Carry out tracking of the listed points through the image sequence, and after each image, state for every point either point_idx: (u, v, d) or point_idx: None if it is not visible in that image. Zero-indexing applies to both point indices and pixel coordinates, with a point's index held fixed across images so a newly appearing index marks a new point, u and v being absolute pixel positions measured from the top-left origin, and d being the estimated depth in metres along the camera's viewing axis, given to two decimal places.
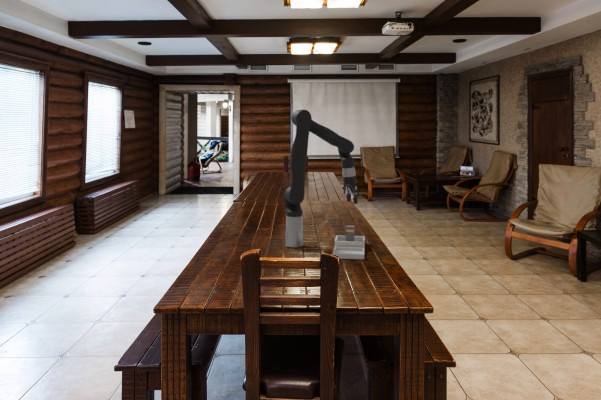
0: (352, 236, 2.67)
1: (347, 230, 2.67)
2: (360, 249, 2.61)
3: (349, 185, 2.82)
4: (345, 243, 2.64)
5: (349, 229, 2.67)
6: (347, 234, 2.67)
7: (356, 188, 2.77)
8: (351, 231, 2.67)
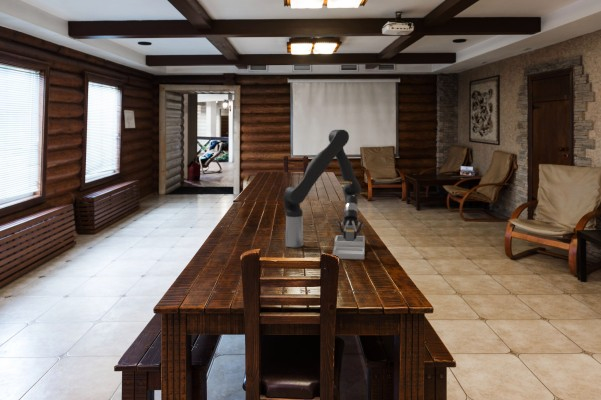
0: (352, 236, 2.67)
1: (347, 230, 2.67)
2: (360, 249, 2.61)
3: (352, 220, 2.74)
4: (345, 243, 2.64)
5: (349, 229, 2.67)
6: (347, 234, 2.67)
7: (362, 225, 2.73)
8: (351, 231, 2.67)
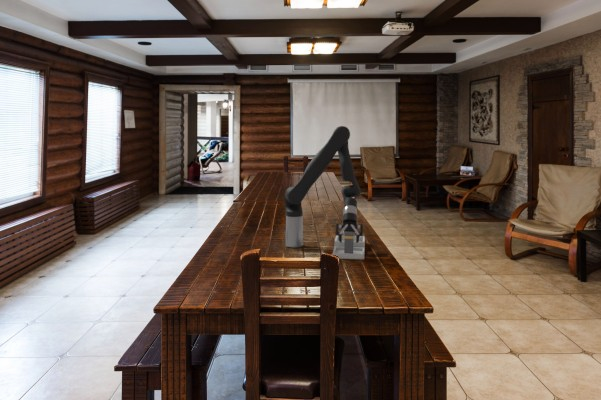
0: (351, 243, 2.52)
1: (346, 237, 2.52)
2: (360, 249, 2.61)
3: (351, 223, 2.58)
4: None
5: (348, 236, 2.52)
6: (346, 241, 2.52)
7: (362, 227, 2.58)
8: (350, 238, 2.52)
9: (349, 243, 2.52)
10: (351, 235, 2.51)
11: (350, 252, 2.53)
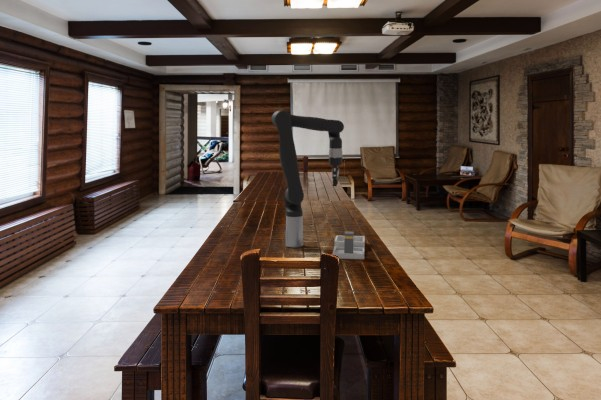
0: (351, 243, 2.52)
1: (346, 237, 2.52)
2: (360, 249, 2.61)
3: None
4: None
5: (348, 236, 2.52)
6: (346, 241, 2.52)
7: (335, 170, 2.69)
8: (350, 238, 2.52)
9: (349, 243, 2.52)
10: (351, 235, 2.51)
11: (350, 252, 2.53)
